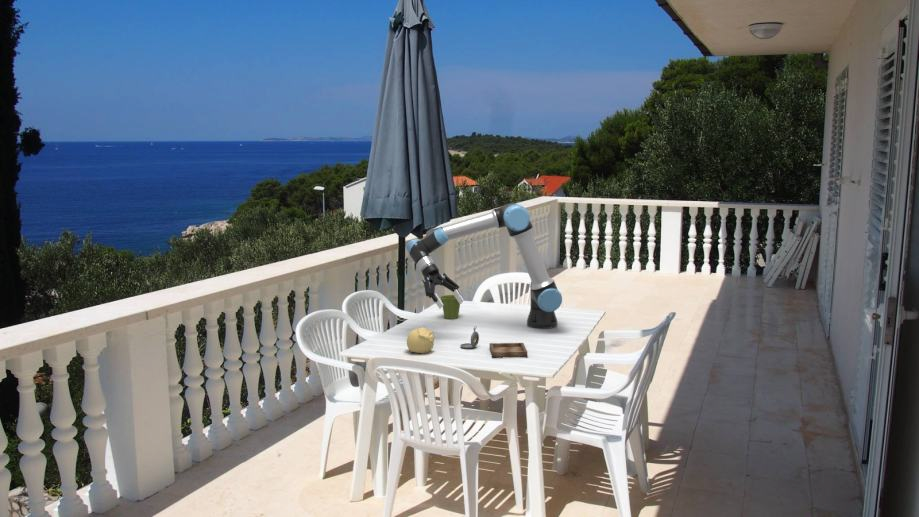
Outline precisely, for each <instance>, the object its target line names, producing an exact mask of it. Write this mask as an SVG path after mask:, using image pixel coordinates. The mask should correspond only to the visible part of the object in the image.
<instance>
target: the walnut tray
mask: <svg viewBox="0 0 919 517" xmlns="http://www.w3.org/2000/svg"><path fill="white" fill-rule="evenodd" d="M489 352H490V355H492V356H491V359H504V358H503V357H526V358H528V350H527V348H526V346H525V343H524V342H491V343H489Z"/></svg>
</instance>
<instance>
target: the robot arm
mask: <svg viewBox="0 0 919 517" xmlns="http://www.w3.org/2000/svg"><path fill="white" fill-rule="evenodd" d="M530 215H531V214H530V212H529V211H528V209H527V208H526V207H524V206H523V205H520V204H518V203H514V202H512V203H511V202H510V203H507V204H504V205H502V206H499V207H496V208H493V209H492V210H491V211H490V212H487V213H484V214H480V215H477V216H474V217H470V218H466V219H464V220H460V221H457V222H453V223H450V224H446V225H442V226H440V227H435V228H430V229H428V230H427V231H426V234H425V237H424V238H421V239H419V238H413V239H410V241H408V242H407V243H406V246H405V247H406V248H405V249H406V251H407V253H408V255H409V257H411V259H412V260H413V262H414V264H415V265H416V267H417V268H418V269H419V271H420V273H421V274H422V276H423V278H422V280H421V281H422V283H423V287H424V292H425V296H426V297H428V298H429V299H432V301H433V302H434V303H435V304H436V307H437V308H438V309H439V310H440V309H442V308H443V303H442V302H441V298H440V296H438V294H437V293H436V292H435V291H436V290H435V289H436V286H442V287H445V288H446V289H448V290H449V291H451V292H452V295H454V296H455V298H456V299H457V301H458V302H459V304H460V305H462V304H463V302H464V301H465V299H463V296H462V295H461V293H460V292H459V289H460V285H458V284H457V283H456V282H455V281H453V280H452V279H451V278H450V277H449V276H448V275H447V274H446V273H445V272H444V273H442V274H440V269H439V268H438V266H437V264H435V261H434V260H433V258H432V257H431V255H430V254H432V252H434V251H436V250H437V249H439V248H440V247H442V246H443V245H445V244H446V243H447V242H448V241H451V240H455V239H458V238H459V239H460V238H462V237H466V236H469V235H472V234H476V233H479V232H483V231H486V230H490V229H493V228H496V229H501V228H504V227H505V228H506V231H507V233H508V234H509V237H510V238H512V239H514V241H515V244H516V246H517V249H518V251H519V254H520V256H521V259H522V261H523V263H524V266H525V269H526V272H527V274H528V276H529V278H530V280H531V281H530V286H529V287H530V310H529V313H528V317H527V320H526V326H528V328H529V327H530V328H534V329H551V328H556V327H558V318H557V316H556V312H555V311H557V310H558V309H559V308H560V307H561V306H562V302H563V296H562V293H561V292H560V291H559V290H558V287H557V284H556V282H555V280H554V278H552V277H550V275H549V273H548V271H547V268H546V266H545V263H544V260H543V258H542V256H541V253H540V250H539V248H538V245H537V243H536V240H535V238H534V236H533V233H532V231H533V228H534V227H533V224H532V222H531V216H530ZM461 296H462V297H461Z"/></svg>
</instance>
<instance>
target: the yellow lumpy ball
mask: <svg viewBox="0 0 919 517" xmlns="http://www.w3.org/2000/svg"><path fill="white" fill-rule="evenodd" d="M434 341H435V337H434V332H433V330H430V329H428V328H424V327H422V326H421V327H419V328H415V329H413V330H411V331H410V332H409V333H408V335H407V337H406V346H407V349H408V350H409V351H410V352H411V353H415V354H417V353H418V354H427V353H428V352H430V351H432V349H433V346H434Z"/></svg>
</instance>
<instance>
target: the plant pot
mask: <svg viewBox="0 0 919 517" xmlns="http://www.w3.org/2000/svg"><path fill="white" fill-rule="evenodd" d="M461 297H462V298H463V295H461ZM439 299H440V300H441V302H442V303H443V306H442V312H443V318H444V319H446V320H450V319H451V320H454V319H458V318H459V316H460V315H459V314H460V307H461V304H459V302H458V301H457V299H456V298H455V296H454V295H453V294H445V295H440V296H439Z"/></svg>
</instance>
